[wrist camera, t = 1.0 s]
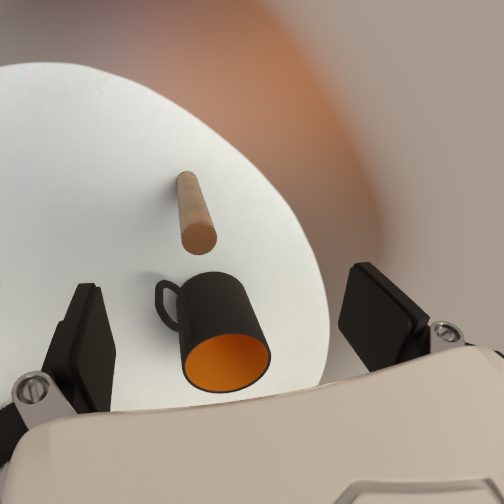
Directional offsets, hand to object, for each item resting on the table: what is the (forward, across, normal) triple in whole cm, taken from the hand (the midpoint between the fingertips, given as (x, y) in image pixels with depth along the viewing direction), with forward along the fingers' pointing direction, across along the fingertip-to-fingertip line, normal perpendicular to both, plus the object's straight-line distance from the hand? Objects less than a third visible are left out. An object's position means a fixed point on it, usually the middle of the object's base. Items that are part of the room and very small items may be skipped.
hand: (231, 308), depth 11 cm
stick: (+21, +1, 0) cm, 21 cm away
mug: (+22, 0, +13) cm, 25 cm away
